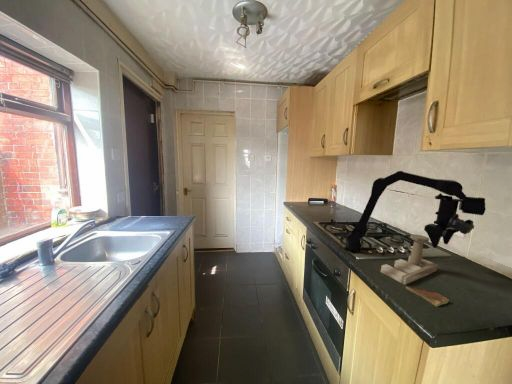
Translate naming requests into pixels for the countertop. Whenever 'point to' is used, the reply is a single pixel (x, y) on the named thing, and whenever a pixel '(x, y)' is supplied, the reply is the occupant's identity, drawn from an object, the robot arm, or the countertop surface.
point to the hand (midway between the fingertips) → (440, 245)
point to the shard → (429, 296)
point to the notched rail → (408, 270)
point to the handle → (417, 248)
